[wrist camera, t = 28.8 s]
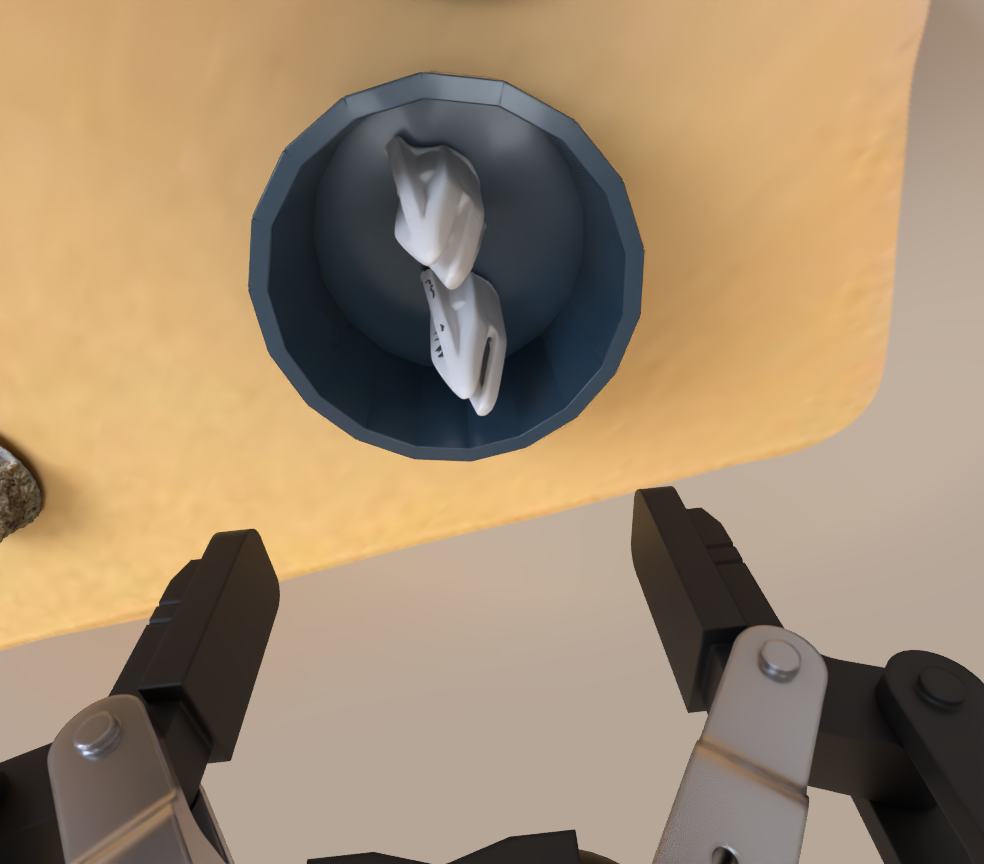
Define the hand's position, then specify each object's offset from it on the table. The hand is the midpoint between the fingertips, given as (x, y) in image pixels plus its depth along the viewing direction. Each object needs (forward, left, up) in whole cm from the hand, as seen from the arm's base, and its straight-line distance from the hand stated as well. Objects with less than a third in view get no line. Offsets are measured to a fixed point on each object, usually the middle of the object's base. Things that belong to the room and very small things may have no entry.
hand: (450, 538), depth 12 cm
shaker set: (0, 0, -24) cm, 24 cm away
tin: (0, 0, -24) cm, 24 cm away
